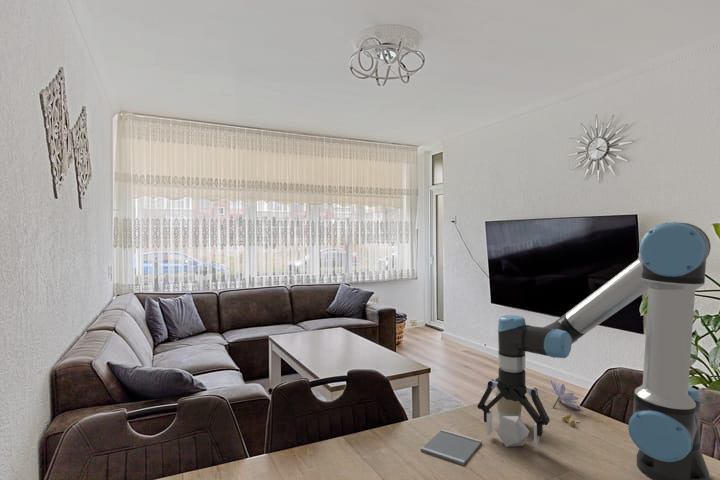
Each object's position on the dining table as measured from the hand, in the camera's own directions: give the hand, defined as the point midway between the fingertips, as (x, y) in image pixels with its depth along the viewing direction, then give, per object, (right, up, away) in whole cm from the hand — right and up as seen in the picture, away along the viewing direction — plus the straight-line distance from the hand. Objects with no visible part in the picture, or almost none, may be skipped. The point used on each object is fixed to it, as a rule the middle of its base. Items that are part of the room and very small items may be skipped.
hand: (512, 439), depth 124 cm
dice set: (+24, -2, +14) cm, 28 cm away
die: (0, -2, 0) cm, 2 cm away
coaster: (-18, -2, -1) cm, 18 cm away
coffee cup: (+4, -1, +14) cm, 15 cm away
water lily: (+28, -1, +25) cm, 38 cm away
